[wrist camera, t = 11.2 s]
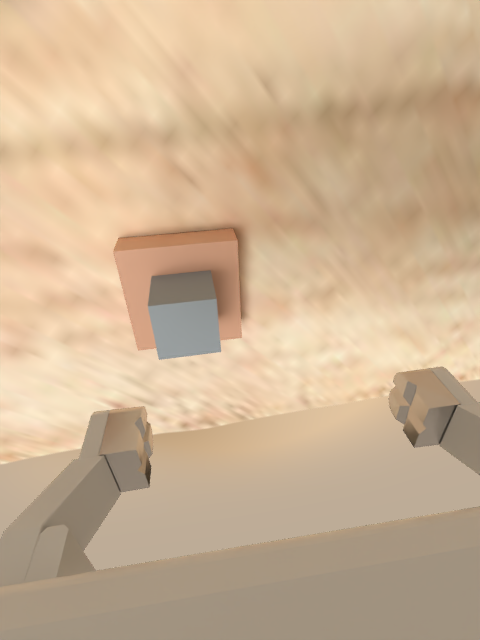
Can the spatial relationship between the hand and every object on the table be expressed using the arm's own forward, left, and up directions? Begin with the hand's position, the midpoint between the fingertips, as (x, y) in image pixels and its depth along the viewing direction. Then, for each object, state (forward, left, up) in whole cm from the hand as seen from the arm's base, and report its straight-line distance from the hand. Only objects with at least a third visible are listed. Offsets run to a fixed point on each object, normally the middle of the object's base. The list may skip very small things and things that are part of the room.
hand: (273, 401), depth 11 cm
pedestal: (+3, +7, -23) cm, 24 cm away
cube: (+3, +7, -20) cm, 21 cm away
